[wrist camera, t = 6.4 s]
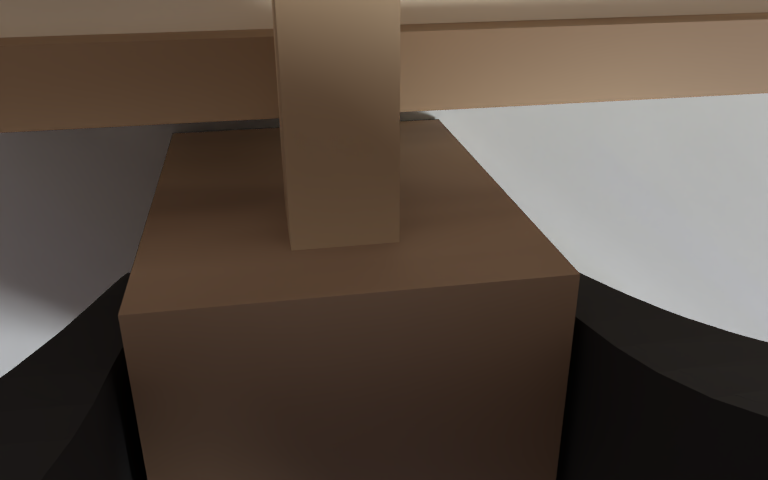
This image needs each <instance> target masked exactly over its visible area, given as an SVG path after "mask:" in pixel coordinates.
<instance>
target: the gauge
mask: <svg viewBox="0 0 768 480" xmlns="http://www.w3.org/2000/svg"><path fill="white" fill-rule="evenodd" d="M271 1H272V16H273V31H274V46H275V61H276V76H277V91H278V107H279V122H280V128H264V129H245V130H226V131H207V132H189V133H173V134H172V138H171V141H170V144H169V148H168V151H167V154H166V158H165V161H164V164H163V168H162V171H161V174H160V178H159V181H158V184H157V187H156V191H155V194H154V197H153V201H152V204H151V207H150V211H149V214H148V217H147V221H146V224H145V227H144V231H143V234H142V237H141V241H140V244H139V247H138V250H137V254H136V257H135V260H134V264H133V267H132V270H131V274H130V277H129V280H128V284H127V287H126V290H125V294H124V297H123V300H122V304H121V307H120V310H119V314H118V319H119V324H120V330H121V335H122V341H123V347H124V352H125V358H126V363H127V369H128V374H129V380H130V385H131V391H132V397H133V402H134V408H135V413H136V419H137V424H138V430H139V435H140V441H141V447H142V452H143V458H144V463H145V469H146V474H147V480H556V475H557V466H558V458H559V449H560V441H561V433H562V424H563V416H564V407H565V399H566V390H567V382H568V373H569V365H570V357H571V348H572V340H573V331H574V323H575V314H576V306H577V297H578V289H579V281H580V273H579V272H578V271H577V270H576V269H575V268H574V267H573V266H572V265H571V264H570V262H569V261H568V260H567V259H566V258H565V257H564V256H563V255H562V254H561V253H560V252H559V250H558V249H557V248H556V247H555V246H554V245H553V244H552V243H551V242H550V241H549V240H548V238H547V237H546V236H545V235H544V234H543V233H542V232H541V231H540V230H539V229H538V228H537V226H536V225H535V224H534V223H533V222H532V221H531V220H530V219H529V218H528V217H527V215H526V214H525V213H524V212H523V211H522V210H521V209H520V208H519V207H518V206H517V205H516V203H515V202H514V201H513V200H512V199H511V198H510V197H509V196H508V195H507V194H506V193H505V191H504V190H503V189H502V188H501V187H500V186H499V185H498V184H497V183H496V182H495V181H494V179H493V178H492V177H491V176H490V175H489V174H488V173H487V172H486V171H485V170H484V169H483V167H482V166H481V165H480V164H479V163H478V162H477V161H476V160H475V159H474V158H473V157H472V155H471V154H470V153H469V152H468V151H467V150H466V149H465V148H464V147H463V146H462V144H461V143H460V142H459V141H458V140H457V139H456V138H455V137H454V136H453V135H452V134H451V132H450V131H449V130H448V129H447V128H446V127H445V126H444V125H443V124H442V123H441V122H440V120H439V119H434V120H415V121H400V0H271Z"/></svg>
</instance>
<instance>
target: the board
mask: <svg viewBox="0 0 768 480" xmlns="http://www.w3.org/2000/svg"><path fill="white" fill-rule="evenodd" d="M758 93H768V0H400V112H411V111H430V110H449V109H469V108H488V107H507V106H527V105H546V104H565V103H584V102H604V101H623V100H642V99H662V98H681V97H700V96H720V95H739V94H758ZM276 118H279V107H278V91H277V76H276V61H275V46H274V31H273V16H272V1H271V0H0V133H5V132H25V131H44V130H63V129H83V128H102V127H121V126H140V125H160V124H179V123H198V122H218V121H237V120H256V119H276Z"/></svg>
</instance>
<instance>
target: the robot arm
mask: <svg viewBox="0 0 768 480" xmlns="http://www.w3.org/2000/svg"><path fill="white" fill-rule="evenodd" d="M130 274H131V273H127V274H126V275H124V276H123V277H122V278H120V279H119V280H118V281H117V282H116V283H115V284H113V285H112V286H111V287H110V288H109V289H108V290H107V291H106V292H105V293H104V294H102V295H101V296H100V297H99V298H98V299H97V300H96V301H95V302H94V303H93V304H91V305H90V306H89V307H88V308H87V309H86V310H85V311H83V312H82V313H81V314H80V315H79V316H78V317H77V318H75V319H74V320H73V321H72V322H71V323H70V324H69V325H67V326H66V327H65V328H64V329H63V330H62V331H61V332H59V333H58V334H57V335H56V336H54V337H53V338H52V339H51V340H49V341H48V342H47V343H45V344H44V345H43V346H42V347H40V348H39V349H38V350H36V351H35V352H34V353H33V354H31V355H30V356H29V357H27V358H26V359H25V360H24V361H22V362H21V363H20V364H19V365H17V366H16V367H15V368H13V369H12V370H11V371H9V372H8V373H6V374H5V375H4V376H2V377H1V378H0V480H147V474H146V469H145V463H144V458H143V452H142V447H141V441H140V435H139V430H138V424H137V419H136V413H135V408H134V402H133V397H132V391H131V385H130V380H129V374H128V369H127V363H126V358H125V352H124V347H123V341H122V335H121V330H120V324H119V319H118V314H119V310H120V307H121V304H122V300H123V297H124V294H125V290H126V287H127V284H128V280H129V277H130ZM556 480H768V342H765V341H760V340H757V339H753V338H749V337H746V336H742V335H739V334H735V333H732V332H728V331H725V330H722V329H719V328H716V327H713V326H710V325H707V324H704V323H701V322H697V321H694V320H691V319H688V318H685V317H682V316H680V315H677V314H674V313H671V312H669V311H666V310H664V309H661V308H659V307H656V306H654V305H651V304H649V303H646V302H644V301H641V300H639V299H637V298H634V297H632V296H629V295H627V294H625V293H622V292H620V291H618V290H616V289H613V288H611V287H609V286H607V285H605V284H602V283H600V282H598V281H596V280H594V279H592V278H590V277H588V276H585V275H583V274H581V273H580V281H579V289H578V297H577V306H576V314H575V323H574V331H573V340H572V348H571V357H570V365H569V373H568V382H567V390H566V399H565V407H564V416H563V424H562V433H561V441H560V449H559V458H558V466H557V475H556Z"/></svg>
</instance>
